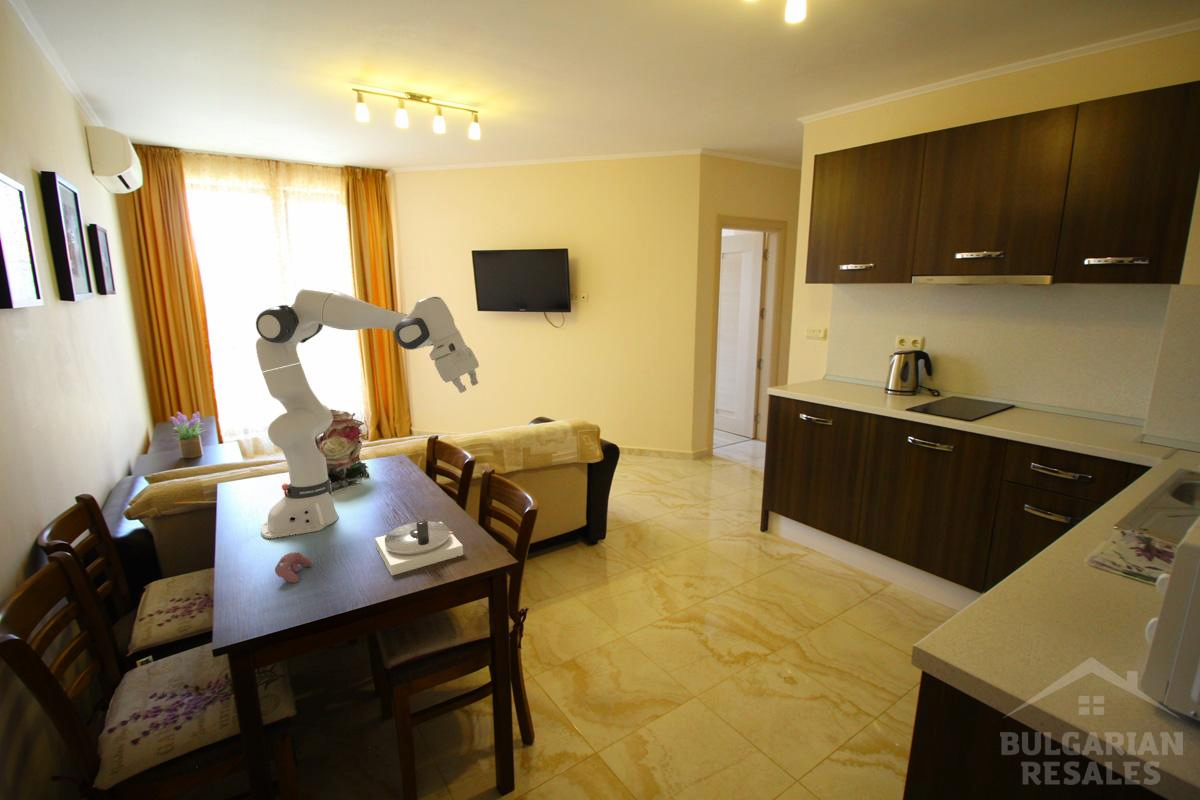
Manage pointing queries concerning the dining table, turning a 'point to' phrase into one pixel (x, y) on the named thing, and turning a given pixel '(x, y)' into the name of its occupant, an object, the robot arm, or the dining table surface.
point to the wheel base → (411, 562)
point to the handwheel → (417, 538)
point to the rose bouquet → (343, 450)
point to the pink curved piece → (291, 566)
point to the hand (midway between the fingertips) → (469, 388)
